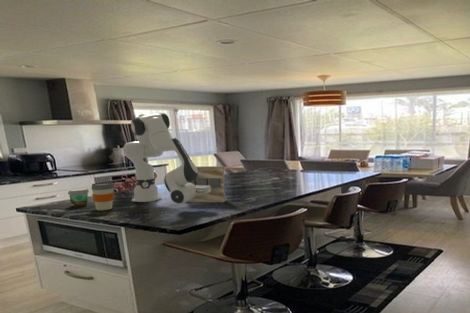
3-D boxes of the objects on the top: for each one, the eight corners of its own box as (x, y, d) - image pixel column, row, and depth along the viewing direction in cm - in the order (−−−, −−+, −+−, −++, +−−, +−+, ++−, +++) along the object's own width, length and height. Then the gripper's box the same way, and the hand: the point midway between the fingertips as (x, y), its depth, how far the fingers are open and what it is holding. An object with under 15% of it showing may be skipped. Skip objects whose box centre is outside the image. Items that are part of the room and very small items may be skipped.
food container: (71, 208, 219) (70, 191, 218) (68, 206, 224) (67, 190, 223) (92, 205, 227) (91, 189, 226) (89, 203, 232) (88, 188, 231)
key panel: (188, 199, 233) (186, 166, 232) (226, 200, 227) (225, 165, 225) (183, 201, 227) (182, 167, 225) (223, 202, 220) (222, 166, 219)
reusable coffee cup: (114, 209, 210) (113, 184, 209) (91, 211, 206) (90, 185, 205) (115, 205, 222) (114, 181, 221) (94, 207, 219) (92, 183, 218)
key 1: (188, 186, 229) (187, 178, 229) (197, 186, 227) (196, 178, 227) (185, 187, 224) (184, 179, 224) (194, 187, 223) (193, 179, 222)
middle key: (200, 186, 227) (199, 178, 226) (209, 186, 225) (208, 178, 225) (197, 187, 222) (196, 179, 222) (206, 187, 220) (206, 179, 220)
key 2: (212, 185, 226) (212, 178, 226) (221, 186, 224) (221, 178, 224) (210, 187, 221) (209, 179, 221) (219, 187, 220) (219, 179, 219)
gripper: (206, 185, 194) (214, 181, 207) (171, 185, 199) (181, 181, 212) (206, 197, 194) (214, 192, 208) (171, 196, 199) (181, 192, 213)
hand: (197, 186), depth 210 cm, fingers closed
